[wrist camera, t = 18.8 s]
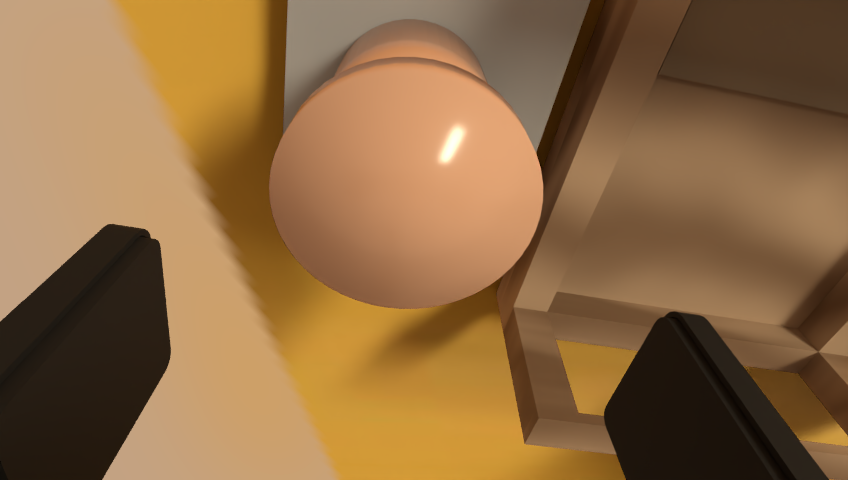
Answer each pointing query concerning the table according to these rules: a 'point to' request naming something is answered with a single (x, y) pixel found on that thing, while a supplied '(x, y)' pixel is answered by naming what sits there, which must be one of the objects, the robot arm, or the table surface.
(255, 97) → the table surface
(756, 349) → the wooden frame crate
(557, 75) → the trivet
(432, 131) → the peach rounded knob
